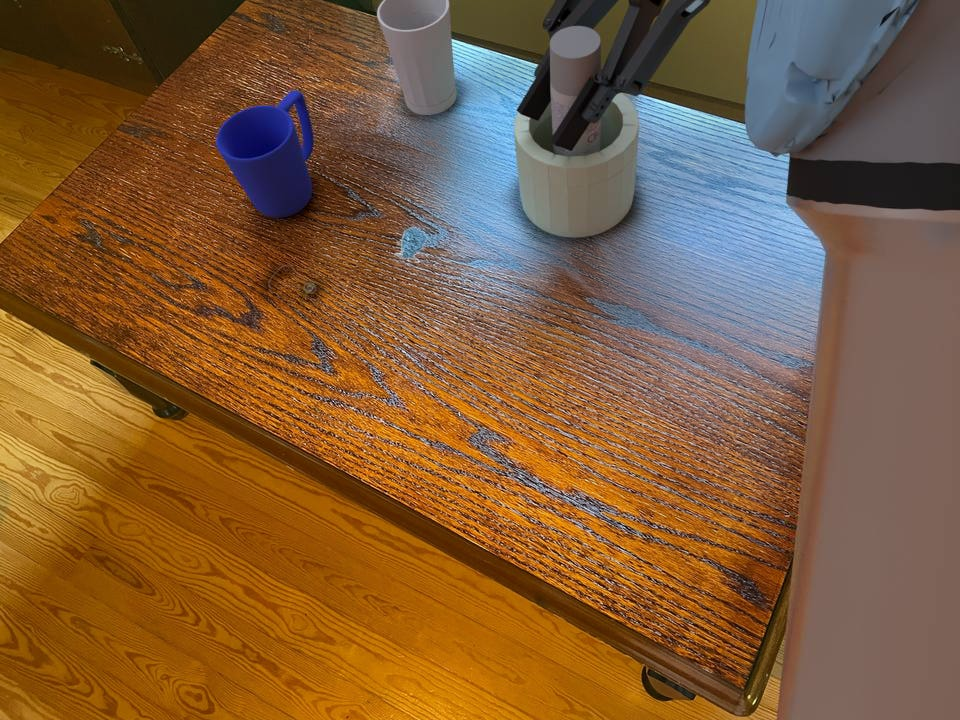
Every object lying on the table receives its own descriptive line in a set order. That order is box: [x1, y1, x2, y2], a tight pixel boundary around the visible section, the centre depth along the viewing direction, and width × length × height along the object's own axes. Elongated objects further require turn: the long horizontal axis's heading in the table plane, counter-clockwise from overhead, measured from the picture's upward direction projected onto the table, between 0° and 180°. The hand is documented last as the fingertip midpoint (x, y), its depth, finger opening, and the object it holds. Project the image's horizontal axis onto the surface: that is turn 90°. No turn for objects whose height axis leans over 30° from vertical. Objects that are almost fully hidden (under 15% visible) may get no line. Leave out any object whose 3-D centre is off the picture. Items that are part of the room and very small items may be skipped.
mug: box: [215, 89, 315, 219], centre depth 86 cm, size 8×12×10 cm
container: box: [549, 26, 602, 157], centre depth 75 cm, size 5×5×15 cm
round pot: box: [513, 93, 640, 239], centre depth 80 cm, size 12×12×10 cm
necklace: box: [268, 264, 317, 295], centre depth 82 cm, size 3×5×1 cm, turn 81°
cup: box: [376, 0, 458, 116], centre depth 91 cm, size 8×8×12 cm
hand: (544, 130), depth 74 cm, fingers closed on container, 5 cm apart
